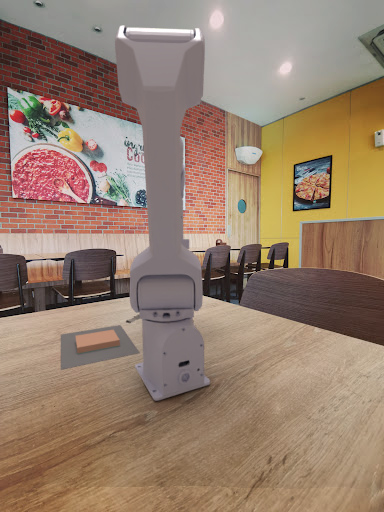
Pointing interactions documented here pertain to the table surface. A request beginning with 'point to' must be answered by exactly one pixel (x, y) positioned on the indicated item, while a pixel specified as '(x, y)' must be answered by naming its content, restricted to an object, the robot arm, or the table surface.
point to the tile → (96, 341)
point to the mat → (73, 359)
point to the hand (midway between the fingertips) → (171, 281)
